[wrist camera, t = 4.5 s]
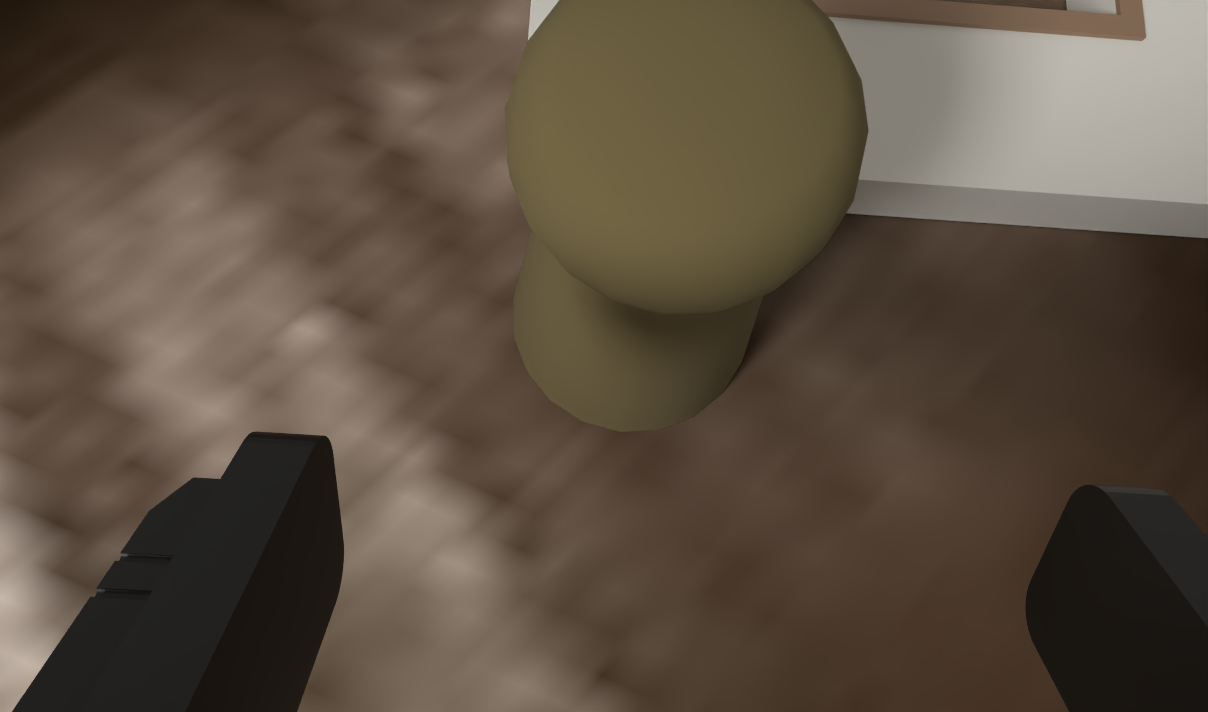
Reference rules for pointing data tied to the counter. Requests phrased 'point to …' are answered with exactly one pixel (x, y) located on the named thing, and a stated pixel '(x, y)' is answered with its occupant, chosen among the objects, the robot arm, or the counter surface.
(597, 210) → the cork
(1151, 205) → the socket board
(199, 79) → the counter surface
